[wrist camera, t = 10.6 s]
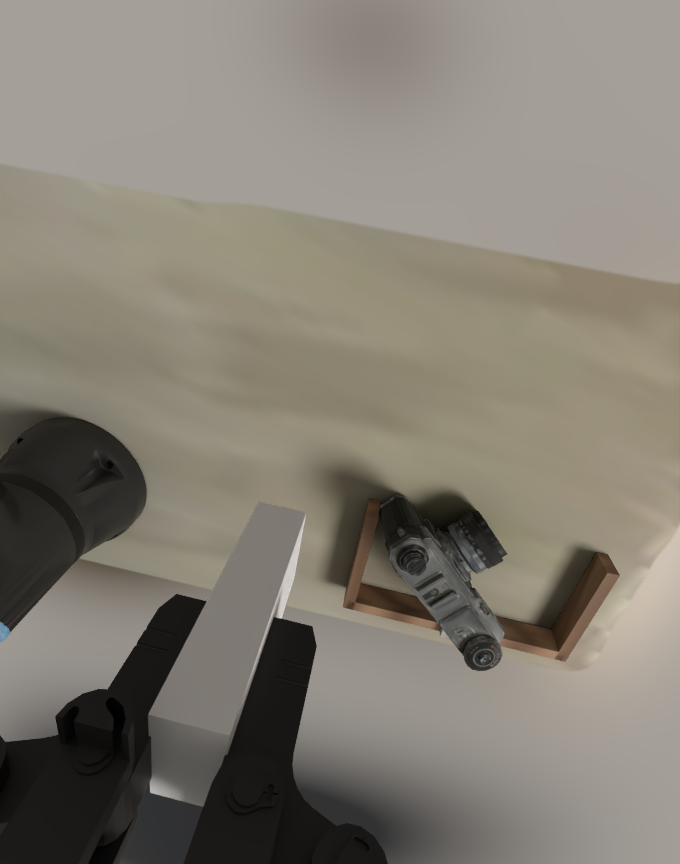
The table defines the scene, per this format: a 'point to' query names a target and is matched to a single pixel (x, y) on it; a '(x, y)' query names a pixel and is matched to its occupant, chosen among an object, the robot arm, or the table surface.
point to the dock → (516, 633)
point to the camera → (447, 575)
